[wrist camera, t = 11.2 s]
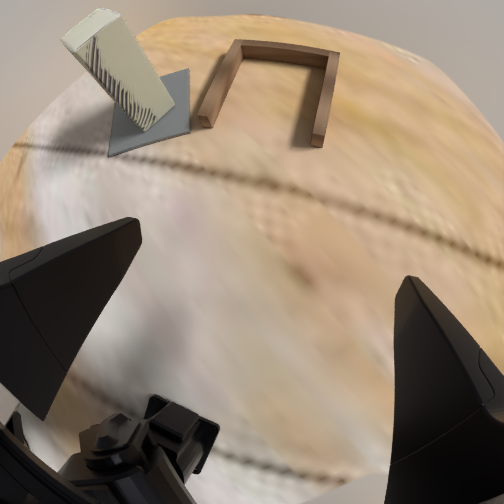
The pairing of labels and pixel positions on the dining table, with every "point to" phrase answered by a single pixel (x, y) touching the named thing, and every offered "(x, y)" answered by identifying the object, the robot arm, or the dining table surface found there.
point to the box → (119, 66)
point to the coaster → (166, 127)
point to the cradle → (277, 53)
